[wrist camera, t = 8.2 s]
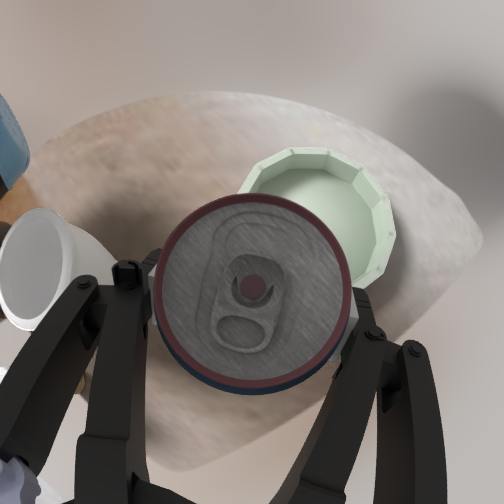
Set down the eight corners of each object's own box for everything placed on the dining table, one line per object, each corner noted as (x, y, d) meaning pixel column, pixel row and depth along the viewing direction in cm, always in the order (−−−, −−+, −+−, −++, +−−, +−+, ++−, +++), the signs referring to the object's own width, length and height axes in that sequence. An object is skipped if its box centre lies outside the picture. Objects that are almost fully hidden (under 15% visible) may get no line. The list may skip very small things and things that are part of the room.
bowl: (209, 260, 33) (203, 249, 29) (277, 146, 37) (280, 126, 33) (346, 330, 31) (360, 330, 27) (394, 205, 35) (409, 191, 31)
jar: (151, 320, 31) (82, 313, 17) (84, 341, 31) (2, 341, 16) (130, 239, 34) (66, 187, 19) (68, 265, 33) (-7, 232, 19)
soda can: (217, 253, 20) (179, 156, 9) (311, 277, 20) (383, 207, 8) (190, 346, 19) (108, 363, 7) (287, 373, 18) (339, 428, 7)
